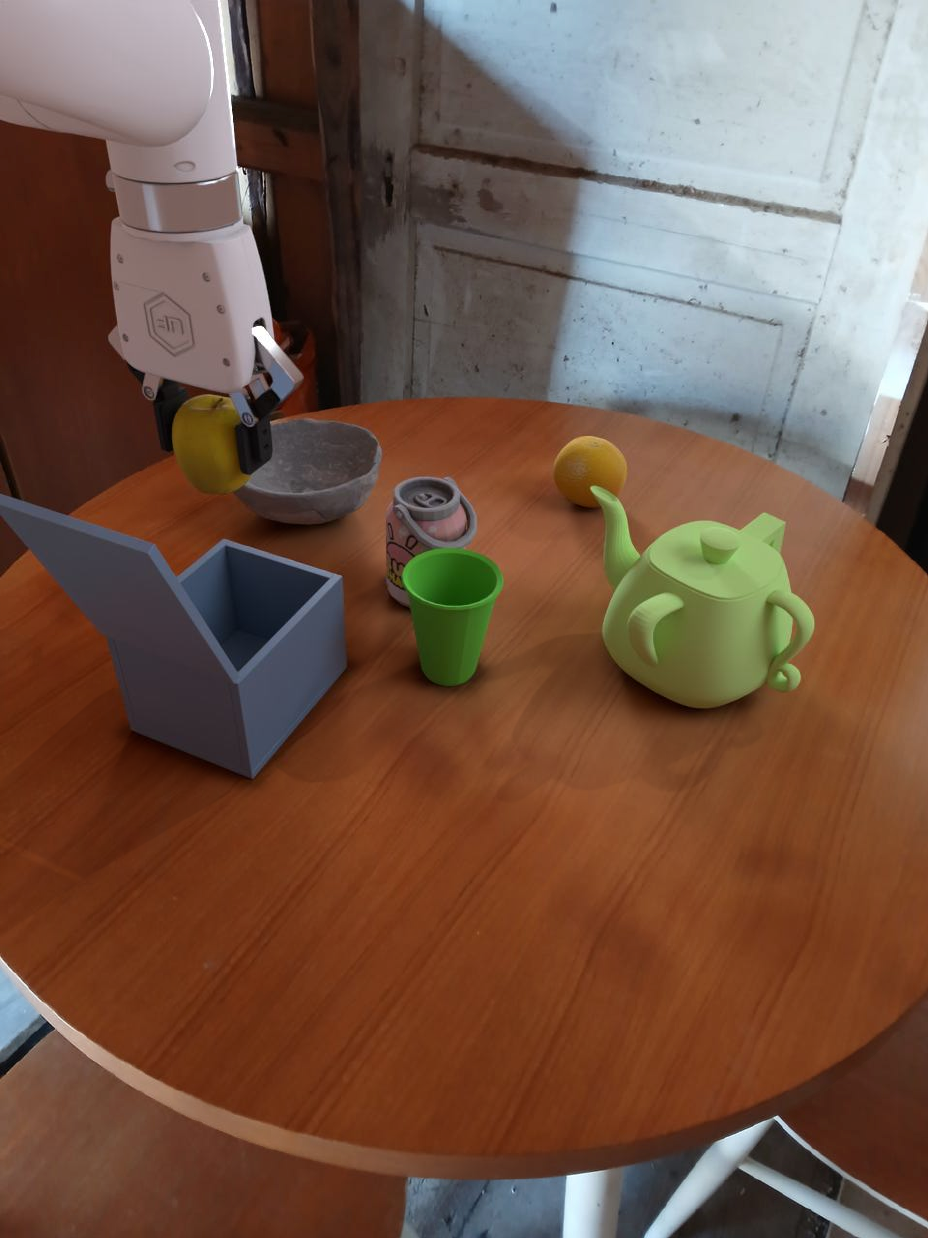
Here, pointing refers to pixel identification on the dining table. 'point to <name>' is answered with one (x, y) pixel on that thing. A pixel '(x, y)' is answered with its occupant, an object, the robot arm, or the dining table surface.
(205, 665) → the lid
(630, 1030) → the dining table surface
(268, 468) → the bowl
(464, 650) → the cup
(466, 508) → the beverage can
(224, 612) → the chest
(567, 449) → the fruit
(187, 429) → the apple
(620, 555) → the teapot
